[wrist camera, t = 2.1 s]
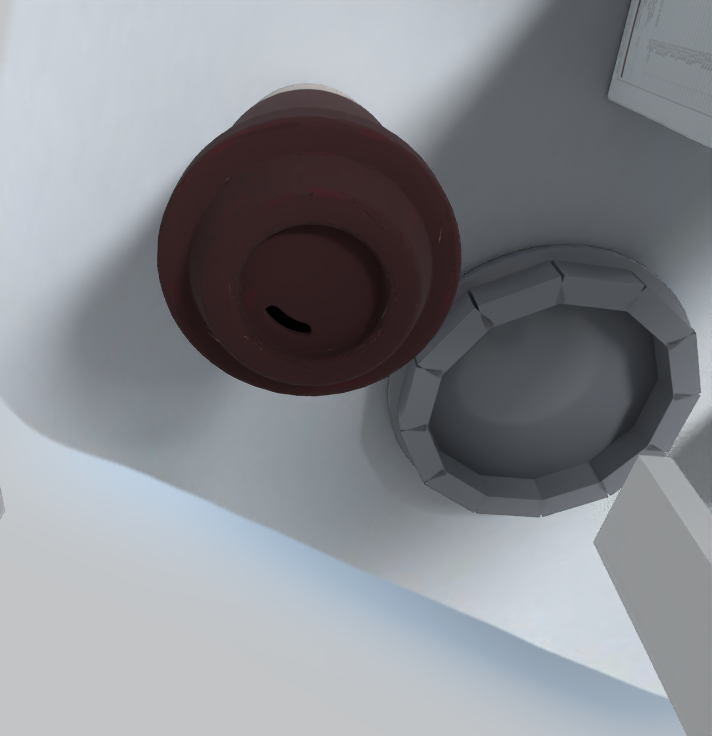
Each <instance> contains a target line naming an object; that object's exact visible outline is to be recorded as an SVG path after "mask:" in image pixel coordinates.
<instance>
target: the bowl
mask: <svg viewBox="0 0 712 736" xmlns="http://www.w3.org/2000/svg"><path fill="white" fill-rule="evenodd" d="M694 331H695V330H693V329H692V328H691V326H690V324H689V321H688V318H687V315H686V313H685V310H684V309H683V307H682V305H681V304H680V302H679V300H678V299H677V297H676V296H675V295H674V293H673V292H672V291H671V290H670V289H669V288H668V287H667V286H666V284H665V283H664V282H663V281H661V280H660V279H659V278H658V277H657V276H656V275H655V274H654V273H652V272H651V271H650V270H648V269H647V268H646V267H645V266H643V265H642V264H640V263H638V262H636V261H634V260H633V259H631V258H629V257H627V256H625V255H622V254H619V253H616V252H613V251H611V250H607V249H602V248H597V247H593V246H586V245H571V244H564V245H547V246H540V247H535V248H530V249H524V250H520V251H517V252H514V253H511V254H507V255H504V256H501V257H499V258H496V259H494V260H492V261H489V262H487V263H485V264H482V265H480V266H478V267H477V268H475V269H473V270H471V271H470V272H468V273H466V274H464V275H463V276H461V277H460V279H459V283H458V288H457V292H456V295H455V298H454V300H453V303H452V306H451V309H450V311H449V313H448V315H447V317H446V319H445V320H444V322H443V324H442V326H441V327H440V329H439V331H438V332H437V334H436V335H435V336H434V337H433V339H432V340H431V341H430V342H429V343H428V345H427V346H426V347H425V348H424V349H423V350H422V351H421V352H420V353H419V354H418V355H417V356H416V357H415V358H414V359H413V360H411V361H410V362H409V363H407V364H406V365H405V366H403V367H402V368H401V369H399V370H397V371H396V372H394V373H393V374H391V375H389V381H388V405H389V411H390V417H391V422H392V427H393V430H394V433H395V435H396V438H397V441H398V443H399V445H400V446H401V448H402V450H403V452H404V453H405V455H406V456H407V457H408V458H409V460H410V461H411V462H412V464H413V465H414V466H415V467H416V468H417V471H418V473H419V475H420V477H421V480H422V482H424V484H425V485H427V486H429V487H430V488H432V489H434V490H436V491H437V492H439V493H441V494H442V495H444V496H446V497H448V498H449V499H451V500H453V501H455V502H456V503H458V504H460V505H461V506H463V507H465V508H467V509H468V510H470V511H472V512H473V513H474V512H475V511H476V513H480V514H495V515H510V516H526V517H540V515H541V514H542V517H544V516H548V515H551V514H554V513H557V512H561V511H564V510H567V509H571V508H574V507H577V506H580V505H584V504H587V503H590V502H594V501H597V500H600V499H603V498H607V497H608V495H607V493H608V494H609V495H612V494H614V493H615V492H616V491H618V490H619V489H620V488H622V486H623V484H624V483H625V481H626V479H627V477H628V475H629V473H630V471H631V469H632V467H633V465H634V463H635V462H636V460H637V458H638V456H639V455H647V456H660V457H663V456H665V455H666V453H665V452H669V450H670V448H671V447H672V445H673V443H674V441H675V439H676V438H677V436H678V434H679V432H680V431H681V429H682V427H683V425H684V423H685V422H686V420H687V418H688V416H689V415H690V413H691V411H692V409H693V407H694V406H695V404H696V402H697V400H698V399H699V397H700V395H699V393H701V388H700V376H699V363H698V351H697V339H696V333H695V332H694Z"/></svg>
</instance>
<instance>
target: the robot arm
mask: <svg viewBox="0 0 712 736" xmlns="http://www.w3.org/2000/svg"><path fill="white" fill-rule="evenodd" d="M4 511H5V508H4V503H3V499H2V493H1V489H0V519H1V517H2V515H3V513H4ZM593 543H594V545H595V547H596V549H597V551H598V553H599V555H600V557H601V559H602V561H603V564H604V566H605V568H606V570H607V572H608V574H609V576H610V578H611V580H612V582H613V584H614V586H615V588H616V590H617V592H618V594H619V597H620V599H621V601H622V603H623V605H624V607H625V609H626V611H627V613H628V615H629V617H630V619H631V621H632V623H633V625H634V627H635V630H636V632H637V634H638V636H639V638H640V640H641V642H642V644H643V646H644V648H645V650H646V652H647V654H648V656H649V658H650V660H651V662H652V665H653V667H654V669H655V671H656V673H657V675H658V677H659V679H660V681H661V683H662V685H663V687H664V689H665V691H666V693H667V695H668V698H669V700H670V702H671V704H672V706H673V708H674V710H675V712H676V714H677V716H678V718H679V720H680V722H681V724H682V726H683V728H684V730H685V732H686V734H687V736H712V513H711V512H710V510H709V509H708V507H707V506H706V505H705V503H704V502H703V500H702V499H701V498H700V496H699V495H698V493H697V492H696V491H695V489H694V488H693V486H692V485H691V484H690V482H689V481H688V479H687V478H686V477H685V475H684V474H683V472H682V471H681V470H680V468H679V467H678V466H677V464H676V463H675V461H674V460H673V459H672V457H660V456H647V455H639V456H638V458H637V460H636V462H635V463H634V465H633V467H632V469H631V471H630V473H629V475H628V477H627V479H626V481H625V483H624V484H623V486H622V488H621V490H620V492H619V494H618V496H617V498H616V500H615V502H614V504H613V505H612V507H611V509H610V511H609V513H608V515H607V517H606V519H605V521H604V523H603V525H602V526H601V528H600V530H599V532H598V534H597V536H596V538H595V540H594V542H593Z"/></svg>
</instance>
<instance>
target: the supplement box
mask: <svg viewBox="0 0 712 736" xmlns="http://www.w3.org/2000/svg"><path fill="white" fill-rule="evenodd" d="M608 99H609V100H610V101H613V102H615V103H617V104H619V105H621V106H623V107H625V108H628V109H630V110H632V111H634V112H636V113H638V114H640V115H642V116H644V117H646V118H648V119H650V120H653V121H655V122H657V123H659V124H661V125H663V126H665V127H667V128H669V129H671V130H673V131H675V132H677V133H679V134H681V135H683V136H685V137H687V138H689V139H691V140H694V141H696V142H698V143H700V144H702V145H705V146H707V147H709V148H711V149H712V0H632V1H631V5H630V9H629V13H628V17H627V21H626V25H625V29H624V33H623V37H622V41H621V45H620V49H619V53H618V57H617V61H616V65H615V69H614V73H613V76H612V80H611V84H610V89H609V93H608Z"/></svg>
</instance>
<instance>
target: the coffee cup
mask: <svg viewBox="0 0 712 736" xmlns="http://www.w3.org/2000/svg"><path fill="white" fill-rule="evenodd" d="M157 267H158V273H159V279H160V283H161V287H162V291H163V294H164V297H165V300H166V303H167V305H168V308H169V310H170V312H171V314H172V316H173V318H174V320H175V322H176V323H177V325H178V327H179V328H180V330H181V331H182V333H183V334H184V335H185V337H186V338H187V339H188V340H189V341H190V343H191V344H192V345H193V346H194V347H195V348H196V349H197V350H198V351H199V352H200V353H201V354H202V355H203V356H204V357H205V358H207V359H208V360H209V361H210V362H211V363H213V364H214V365H216V366H217V367H218V368H220V369H221V370H223V371H224V372H226V373H227V374H229V375H231V376H233V377H235V378H237V379H239V380H241V381H243V382H245V383H248V384H250V385H253V386H255V387H259V388H262V389H266V390H269V391H272V392H276V393H281V394H289V395H296V396H323V395H331V394H340V393H345V392H348V391H352V390H356V389H359V388H363V387H366V386H368V385H370V384H373V383H375V382H377V381H380V380H382V379H384V378H386V377H388V376H389V375H391V374H393V373H394V372H396V371H397V370H399V369H401V368H402V367H403V366H405V365H406V364H407V363H409V362H410V361H411V360H413V359H414V358H415V357H416V356H417V355H418V354H419V353H420V352H421V351H422V350H423V349H424V348H425V347H426V346H427V345H428V343H429V342H430V341H431V340H432V339H433V337H434V336H435V335H436V334H437V332H438V331H439V329H440V327H441V326H442V324H443V322H444V320H445V319H446V317H447V315H448V313H449V311H450V309H451V306H452V303H453V300H454V298H455V295H456V292H457V288H458V283H459V279H460V270H461V243H460V235H459V231H458V226H457V222H456V219H455V216H454V213H453V210H452V207H451V205H450V203H449V201H448V199H447V197H446V194H445V193H444V191H443V189H442V187H441V186H440V184H439V182H438V180H437V178H436V177H435V175H434V174H433V172H432V171H431V169H430V168H429V167H428V165H427V164H426V163H425V161H424V160H423V159H422V158H421V156H420V155H419V154H417V153H416V152H415V151H414V150H413V149H412V148H411V147H410V146H409V145H408V144H407V143H406V142H404V141H403V140H402V139H401V138H399V137H398V136H397V135H395V134H394V133H392V132H390V131H389V130H387V129H386V128H384V127H383V126H382V125H381V124H380V123H379V122H378V121H377V119H376V118H375V117H374V116H373V115H372V114H370V113H369V112H368V111H367V110H366V109H364V108H363V107H362V106H360V105H359V104H357V103H356V102H355V101H354V100H353V99H351V98H350V97H348V96H347V95H345V94H344V93H342V92H340V91H338V90H335V89H333V88H330V87H327V86H323V85H318V84H296V85H291V86H287V87H284V88H281V89H278V90H276V91H274V92H272V93H270V94H269V95H267V96H265V97H264V98H263V99H262V100H260V101H259V102H258V103H257V104H256V105H254V106H253V107H251V108H250V109H249V110H248V111H247V112H245V113H244V114H243V115H242V116H241V117H240V118H239V119H238V120H237V121H236V123H235V124H234V125H233V127H231V128H230V129H228V130H227V131H225V132H224V133H222V134H221V135H219V136H218V137H217V138H215V139H214V140H213V141H212V142H211V143H209V144H208V145H207V146H206V147H205V148H204V149H203V150H202V151H201V152H200V153H199V154H198V155H197V156H196V157H195V158H194V160H193V161H192V162H191V163H190V165H189V166H188V167H187V169H186V170H185V172H184V173H183V175H182V177H181V178H180V180H179V182H178V184H177V185H176V187H175V189H174V191H173V193H172V195H171V197H170V199H169V202H168V204H167V207H166V209H165V212H164V215H163V218H162V222H161V225H160V230H159V236H158V252H157Z"/></svg>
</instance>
